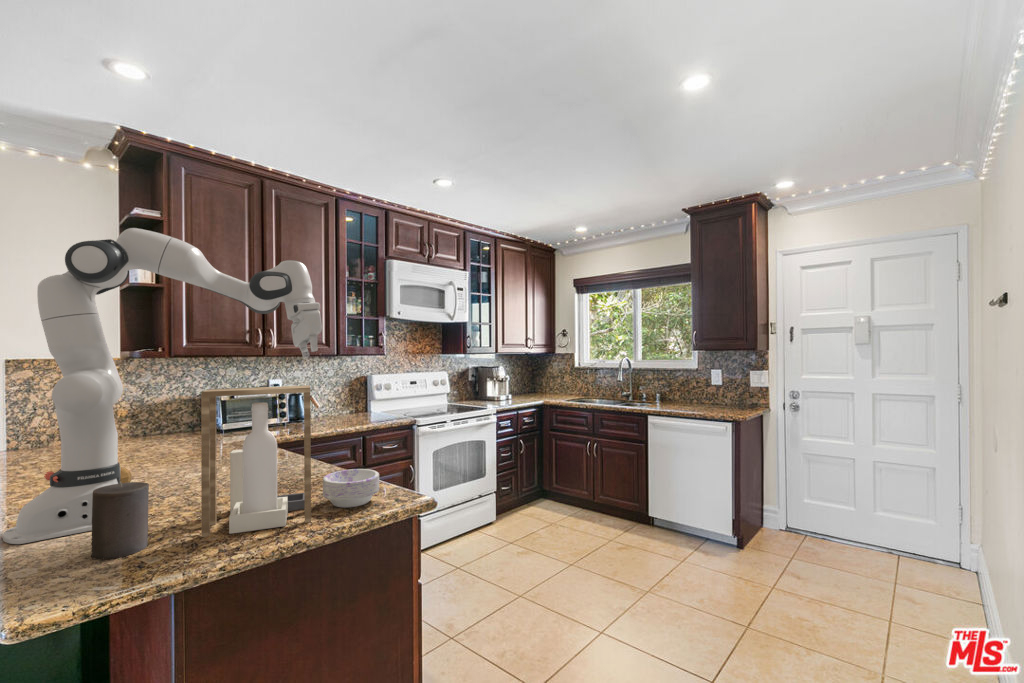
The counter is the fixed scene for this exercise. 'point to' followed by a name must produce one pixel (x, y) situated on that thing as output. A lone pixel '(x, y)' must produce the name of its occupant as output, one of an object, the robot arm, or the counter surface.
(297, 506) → the tray
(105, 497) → the pillar candle
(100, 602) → the counter surface
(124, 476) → the potato
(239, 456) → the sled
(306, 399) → the oak shelf bridge
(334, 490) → the paper bowls
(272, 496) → the bottle
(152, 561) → the counter surface
